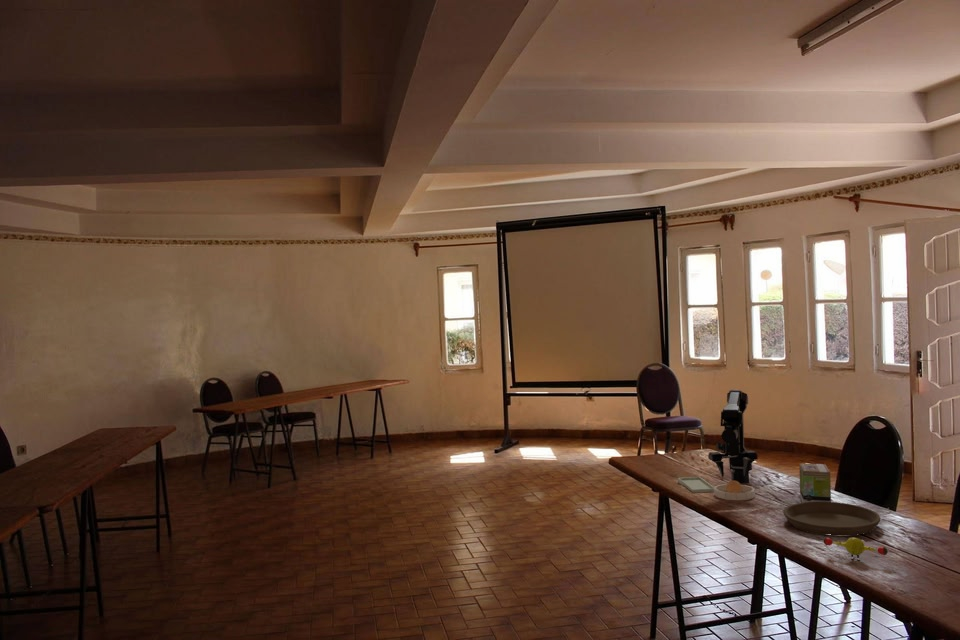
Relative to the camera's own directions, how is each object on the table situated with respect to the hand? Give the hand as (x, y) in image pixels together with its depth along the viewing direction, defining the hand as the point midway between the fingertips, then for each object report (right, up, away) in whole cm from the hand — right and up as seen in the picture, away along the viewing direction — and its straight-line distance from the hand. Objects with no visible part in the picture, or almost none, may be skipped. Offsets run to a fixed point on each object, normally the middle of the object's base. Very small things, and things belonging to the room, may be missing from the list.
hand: (733, 476), depth 299 cm
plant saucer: (+20, -9, -42) cm, 47 cm away
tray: (-10, -9, +18) cm, 22 cm away
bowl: (0, -8, 0) cm, 8 cm away
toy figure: (+10, -9, -77) cm, 78 cm away
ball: (0, -8, 0) cm, 8 cm away
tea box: (+27, -8, -16) cm, 32 cm away
